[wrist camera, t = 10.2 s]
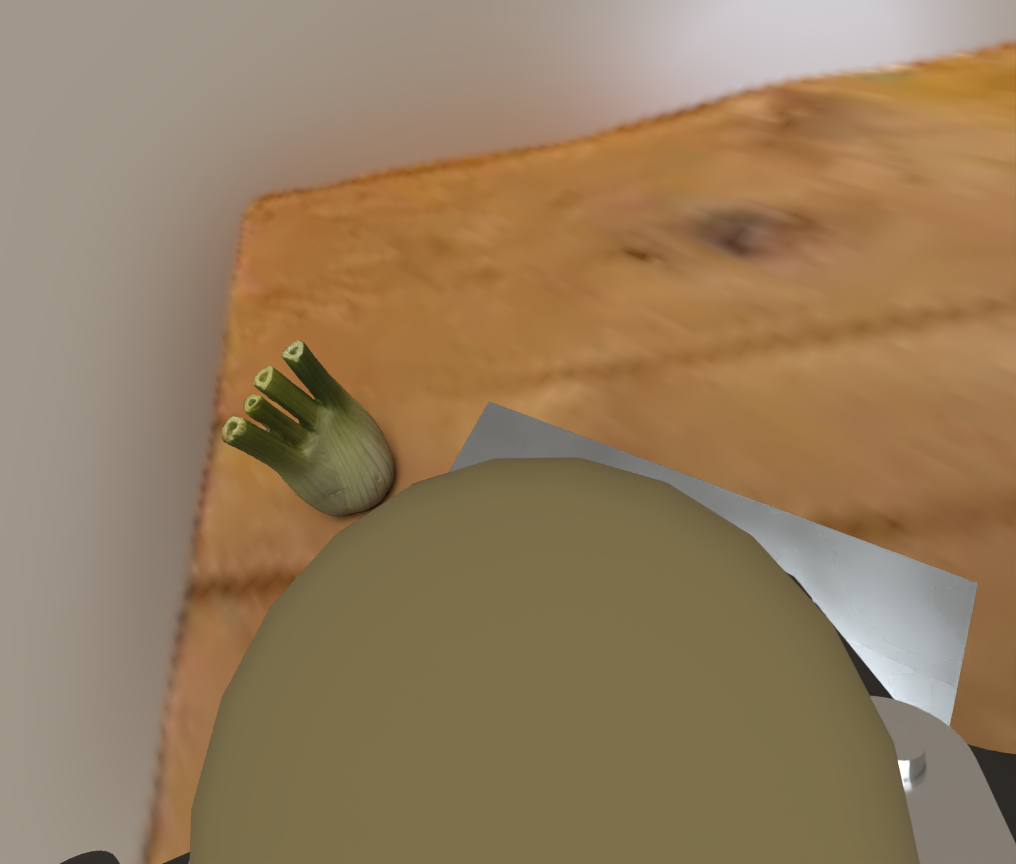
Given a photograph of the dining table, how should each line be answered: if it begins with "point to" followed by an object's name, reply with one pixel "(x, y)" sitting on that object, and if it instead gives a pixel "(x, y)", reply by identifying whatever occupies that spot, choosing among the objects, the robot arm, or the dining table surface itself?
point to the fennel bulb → (315, 437)
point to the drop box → (799, 565)
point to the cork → (547, 692)
